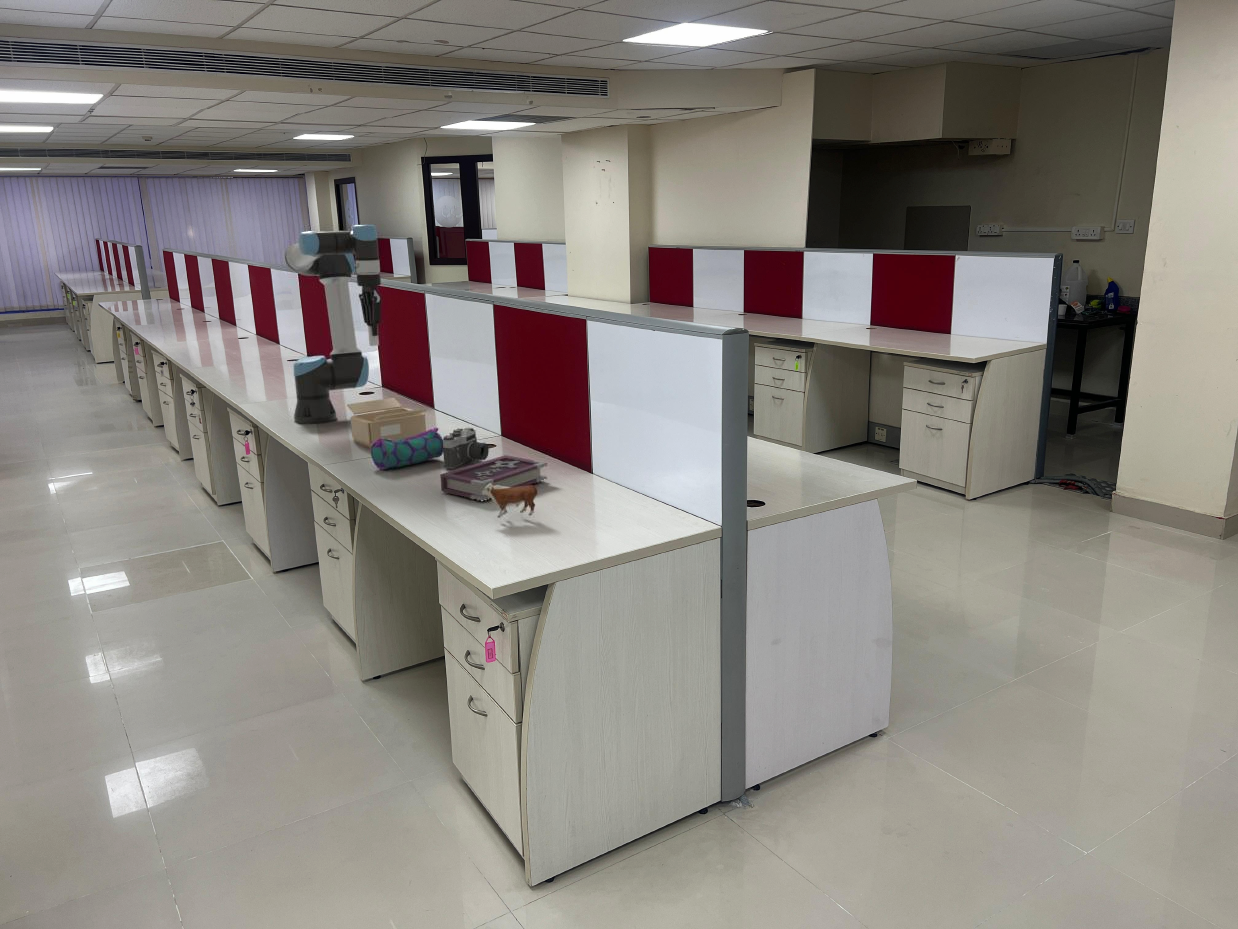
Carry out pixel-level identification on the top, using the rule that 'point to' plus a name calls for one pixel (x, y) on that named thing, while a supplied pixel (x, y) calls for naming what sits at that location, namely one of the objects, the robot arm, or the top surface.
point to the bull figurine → (511, 496)
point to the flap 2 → (400, 414)
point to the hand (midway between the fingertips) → (374, 345)
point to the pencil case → (407, 450)
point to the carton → (386, 426)
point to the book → (492, 476)
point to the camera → (463, 447)
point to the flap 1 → (373, 406)
